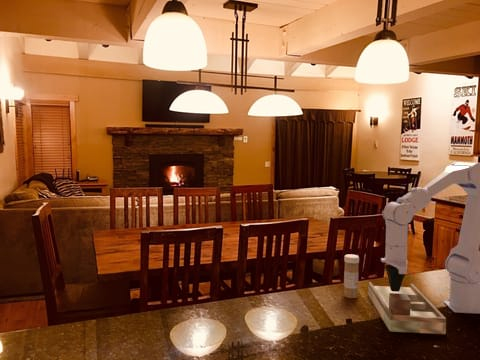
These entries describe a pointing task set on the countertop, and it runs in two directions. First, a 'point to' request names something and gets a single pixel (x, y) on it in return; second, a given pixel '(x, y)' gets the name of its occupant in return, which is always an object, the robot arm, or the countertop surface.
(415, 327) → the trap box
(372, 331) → the countertop surface
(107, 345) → the countertop surface
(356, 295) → the sprinkles bottle
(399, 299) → the walnut block
